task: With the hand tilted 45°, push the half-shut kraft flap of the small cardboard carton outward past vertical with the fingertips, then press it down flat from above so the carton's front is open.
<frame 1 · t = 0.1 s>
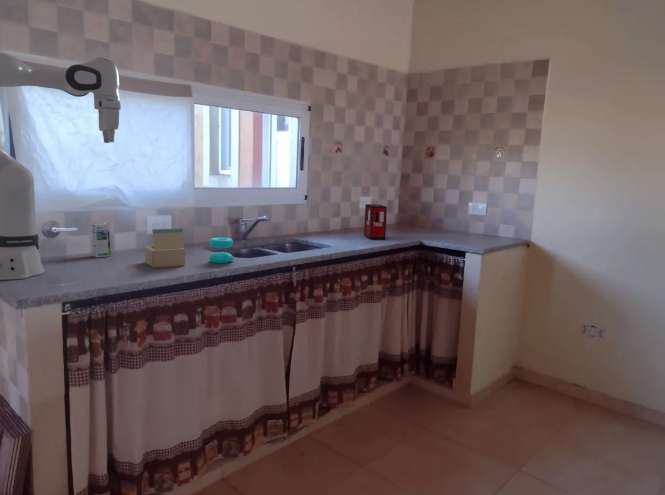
hand: (108, 142, 179), 48 cm above the counter, tool pointing down, fingers open, 8 cm apart
flap: (168, 238, 188), point 11 cm above the counter, hinge at -15.0°
carton: (165, 263, 195), on the counter
syrup box: (102, 256, 206), on the counter
cleaning product box: (374, 238, 291), on the counter
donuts: (221, 262, 204), on the counter
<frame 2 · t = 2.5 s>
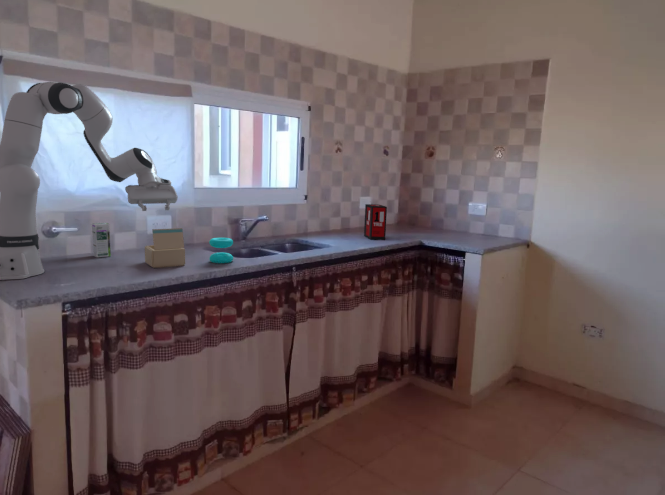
hand: (156, 209, 201), 21 cm above the counter, tool tilted 45°, fingers open, 8 cm apart
nothing on the counter moved.
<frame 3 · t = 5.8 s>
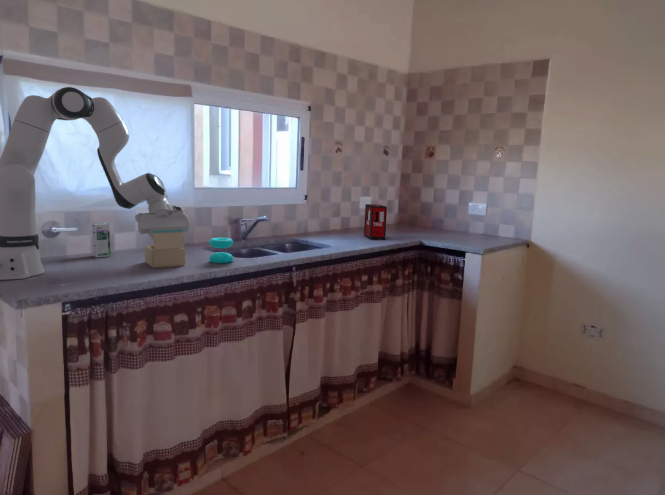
hand: (168, 239, 189), 11 cm above the counter, tool tilted 45°, fingers open, 8 cm apart
flap: (168, 238, 188), point 11 cm above the counter, hinge at -10.6°, touching gripper
everything else where it was.
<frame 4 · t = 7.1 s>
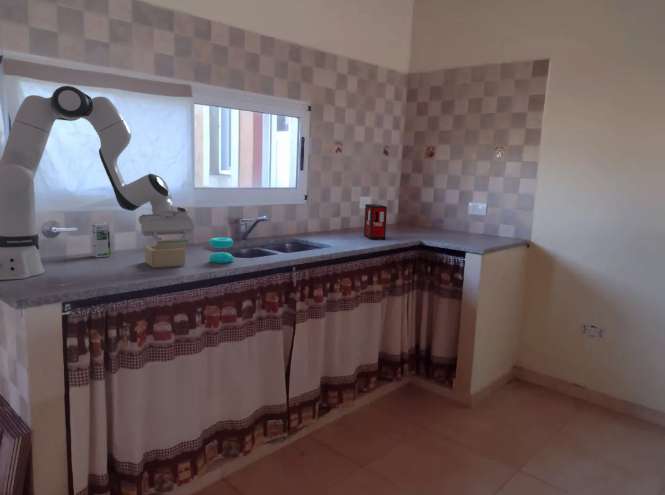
hand: (172, 241, 184), 11 cm above the counter, tool tilted 45°, fingers open, 8 cm apart
flap: (171, 244, 185), point 10 cm above the counter, hinge at 55.6°, touching gripper
everything else where it was.
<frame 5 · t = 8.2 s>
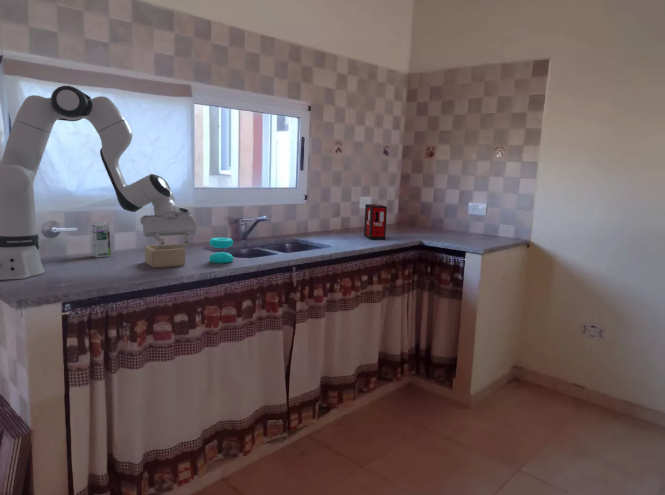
hand: (174, 243, 182), 11 cm above the counter, tool tilted 45°
flap: (172, 246, 185), point 9 cm above the counter, hinge at 69.8°, touching gripper
everything else where it was.
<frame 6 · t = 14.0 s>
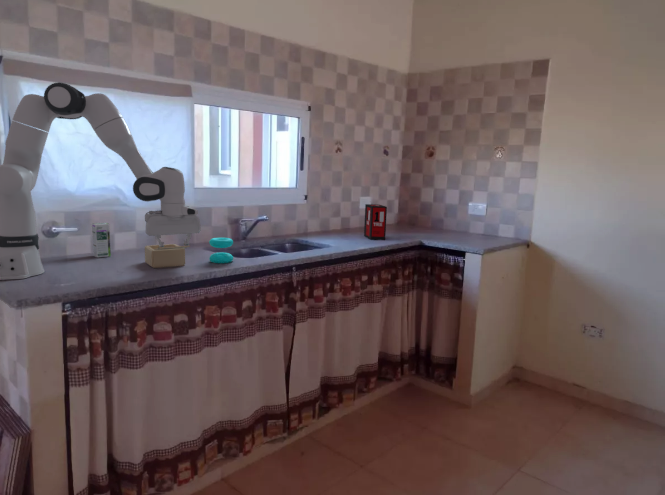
hand: (174, 245, 183), 10 cm above the counter, tool pointing down, fingers open, 8 cm apart
flap: (172, 247, 185), point 8 cm above the counter, hinge at 76.3°, touching gripper
everything else where it was.
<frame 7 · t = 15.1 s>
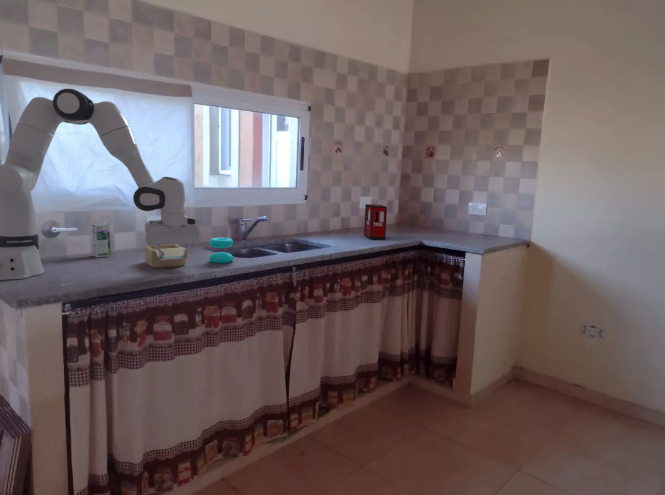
hand: (174, 255, 184), 6 cm above the counter, tool pointing down
flap: (172, 253, 185), point 6 cm above the counter, hinge at 111.0°, touching gripper
everything else where it was.
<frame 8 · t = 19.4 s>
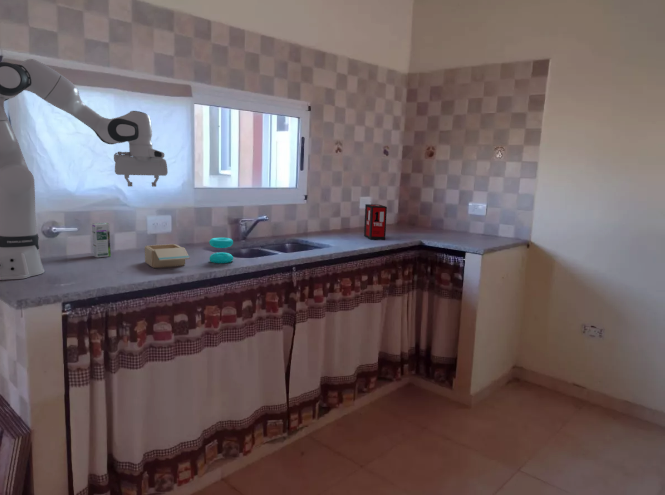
hand: (142, 186, 196), 31 cm above the counter, tool pointing down, fingers open, 8 cm apart
flap: (172, 254, 185), point 6 cm above the counter, hinge at 112.4°
everything else where it was.
at the end: flap at +112° (first picture: -15°) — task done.
